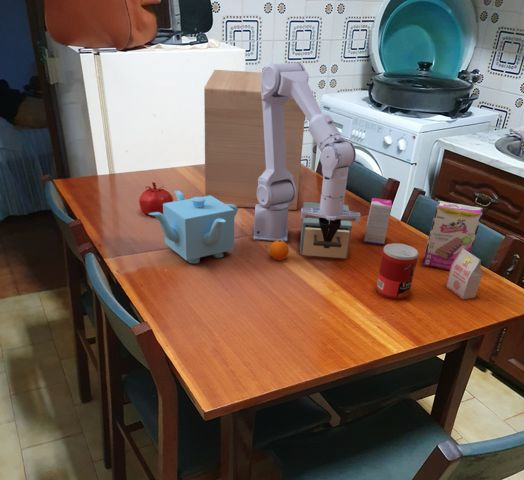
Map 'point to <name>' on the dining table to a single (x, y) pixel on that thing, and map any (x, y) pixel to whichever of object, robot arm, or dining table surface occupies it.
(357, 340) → the dining table surface
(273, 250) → the orange
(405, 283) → the canned food
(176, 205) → the teakettle
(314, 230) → the drawer
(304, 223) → the cabinet
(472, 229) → the candy bar box
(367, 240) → the supplement box
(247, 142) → the storage cube
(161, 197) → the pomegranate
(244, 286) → the dining table surface
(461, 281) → the white box
